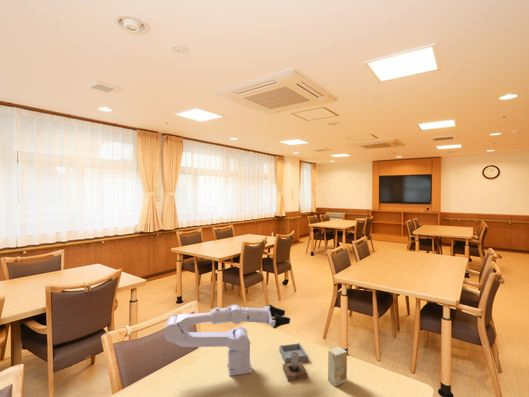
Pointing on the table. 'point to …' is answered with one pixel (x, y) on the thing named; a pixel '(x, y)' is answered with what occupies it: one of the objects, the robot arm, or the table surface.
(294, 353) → the pin
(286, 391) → the table surface
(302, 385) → the table surface
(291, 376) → the socket
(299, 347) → the tray
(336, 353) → the skincare box
